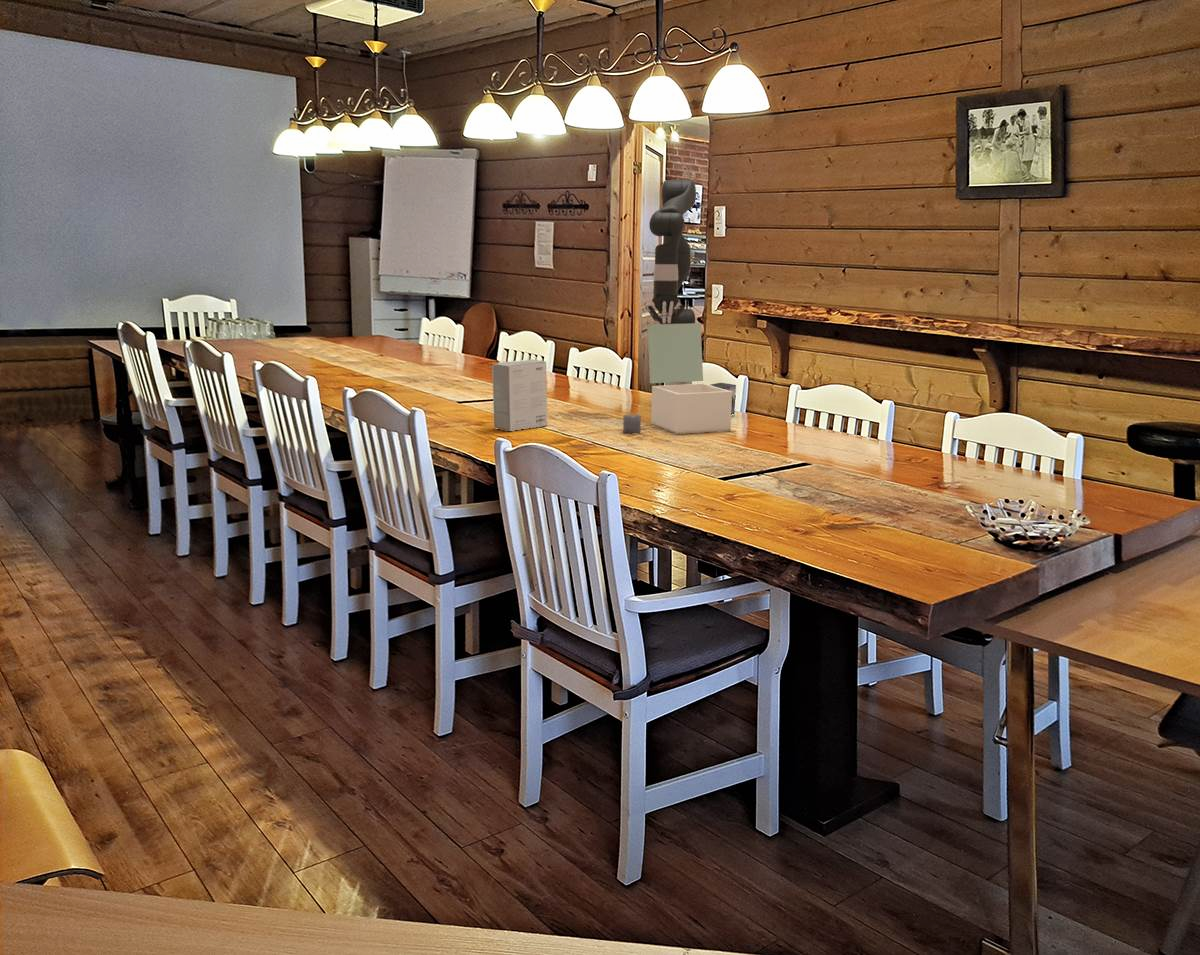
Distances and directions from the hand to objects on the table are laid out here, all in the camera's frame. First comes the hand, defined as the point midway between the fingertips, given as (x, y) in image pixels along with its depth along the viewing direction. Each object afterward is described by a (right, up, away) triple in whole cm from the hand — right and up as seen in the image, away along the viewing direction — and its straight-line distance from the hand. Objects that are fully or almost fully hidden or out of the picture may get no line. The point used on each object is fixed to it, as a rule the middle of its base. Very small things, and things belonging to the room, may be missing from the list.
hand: (664, 335), depth 332 cm
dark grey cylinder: (-11, -31, -15) cm, 36 cm away
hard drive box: (-44, -30, -10) cm, 54 cm away
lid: (+3, -6, -2) cm, 7 cm away
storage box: (+7, -29, -7) cm, 31 cm away
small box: (+18, -25, +13) cm, 34 cm away
